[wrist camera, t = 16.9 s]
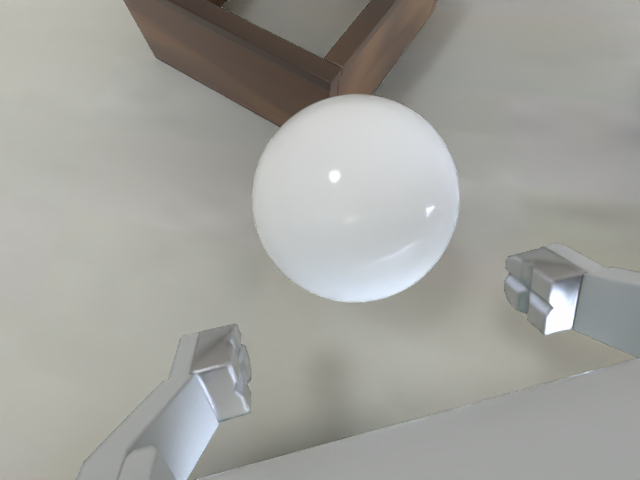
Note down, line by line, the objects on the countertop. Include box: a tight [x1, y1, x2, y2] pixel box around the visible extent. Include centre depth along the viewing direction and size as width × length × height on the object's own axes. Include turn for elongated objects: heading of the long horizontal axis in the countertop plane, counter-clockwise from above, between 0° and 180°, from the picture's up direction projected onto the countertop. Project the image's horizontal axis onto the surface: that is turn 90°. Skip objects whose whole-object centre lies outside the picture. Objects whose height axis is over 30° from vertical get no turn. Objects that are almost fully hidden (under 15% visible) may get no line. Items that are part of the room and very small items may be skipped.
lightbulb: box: [252, 94, 460, 303], centre depth 13 cm, size 6×6×11 cm
